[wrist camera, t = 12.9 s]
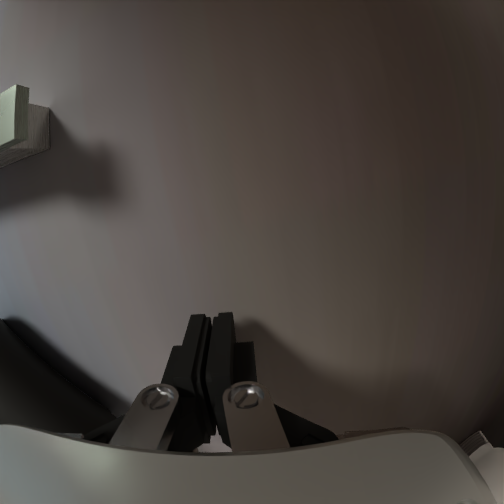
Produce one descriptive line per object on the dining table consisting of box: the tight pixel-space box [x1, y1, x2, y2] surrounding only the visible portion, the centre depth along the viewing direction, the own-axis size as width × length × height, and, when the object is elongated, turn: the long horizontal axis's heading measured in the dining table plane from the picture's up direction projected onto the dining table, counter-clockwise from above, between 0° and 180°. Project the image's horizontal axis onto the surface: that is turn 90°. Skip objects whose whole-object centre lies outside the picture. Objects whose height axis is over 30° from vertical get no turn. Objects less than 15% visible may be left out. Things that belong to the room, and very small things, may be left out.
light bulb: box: [460, 431, 504, 504], centre depth 13 cm, size 7×7×11 cm
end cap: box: [0, 319, 117, 436], centre depth 10 cm, size 10×7×7 cm
